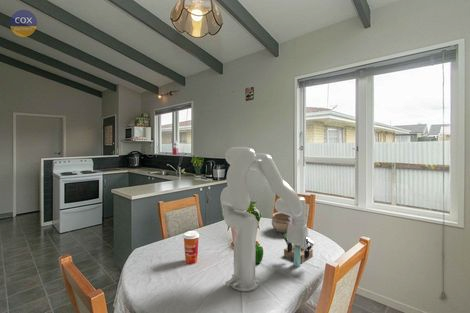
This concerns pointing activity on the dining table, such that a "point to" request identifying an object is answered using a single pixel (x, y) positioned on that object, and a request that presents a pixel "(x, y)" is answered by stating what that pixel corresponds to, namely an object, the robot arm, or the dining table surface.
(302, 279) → the dining table surface
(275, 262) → the dining table surface
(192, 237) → the coffee cup
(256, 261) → the bell pepper
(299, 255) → the peg
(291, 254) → the socket
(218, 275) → the dining table surface
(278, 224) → the cooking pot
